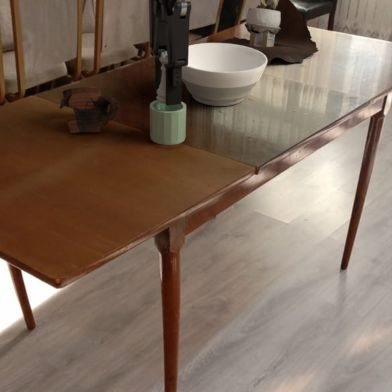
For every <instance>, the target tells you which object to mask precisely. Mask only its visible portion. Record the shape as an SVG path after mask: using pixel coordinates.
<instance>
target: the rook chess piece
mask: <svg viewBox="0 0 392 392" xmlns="http://www.w3.org/2000/svg"><path fill="white" fill-rule="evenodd" d="M159 60H160V61H161V63H162V67H161V70H162V77H161V83H160V85H159V88H158V89H157V94H158V96H157V95H156V100H158V101H159V102H160V103H163V104H166V68H165V67H164V64H168V55H167V51H165V52H162V53H161V57H160V59H159Z"/></svg>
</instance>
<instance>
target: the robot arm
mask: <svg viewBox="0 0 392 392" xmlns="http://www.w3.org/2000/svg"><path fill="white" fill-rule="evenodd" d="M191 12H192V2H191V1H190V0H189V1H185V0H148V26H149V27H148V28H149V29H148V31H149V32H148V33H149V35H148V36H149V48H150V49H152V53H153V55H154V94H155V96H156V97H157V96H158V94H157V89H158V88H159V85H160V83H161V77H162V70H161V67H162V63H161V61H160V60H159V59H160V57H161V53H162V52H165V51H167V55H168V64H164V67H165V68H166V105H167V106H169V105H177V104H181V102H182V91H183V90H182V88H183V87H182V86H183V84H182V83H183V81H182V67H183V66H188V53H189V45H190V18H191Z"/></svg>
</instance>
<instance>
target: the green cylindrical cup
mask: <svg viewBox="0 0 392 392" xmlns="http://www.w3.org/2000/svg"><path fill="white" fill-rule="evenodd" d="M186 129H187V104H186V103H185V102H183V101H181V104H177V105H169V106H167V105H166V104H163V103H160V102H159V101H158V100H157V99H156V100H154V101H152V102H150V103H149V138H150V140H151V142H152V141H153V143H156V144H159V145H163V146H173V145H179V144H181V143H183V142H185V140H186V136H187V135H186V134H187V133H186V132H187V130H186Z"/></svg>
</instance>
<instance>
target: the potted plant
mask: <svg viewBox="0 0 392 392" xmlns="http://www.w3.org/2000/svg"><path fill="white" fill-rule="evenodd" d="M259 1H260V4H258V5H256V7H249V8H248V10H247V12H246V17H245V23H244V27H245V29H246V30H247V32H248V34H249V39H247V38H245V37H244V38H242V37H241V38H239V37H237V36H233V37H232V38H227V39H224V40H222V41H221V43H227V44H235V45H241V46H246V47H249V48H252V49H255V50H258V51H260V52H261V53H263V54H264V55H265V56H266V57H267V64H266V66H268V67H269V65H270V63H271V61H272V60H273V59H275V58H279V59H282V60H283V61H285V62H286V63H301V64H303V63H304V59H306V58H307V57H310V56H314V54H315V53H317V52H319V51H320V50H319V48H318V47H317V43H316V41H314V40H312V39H313V37H312V35H311V31H310V30H309V27H308V24H307V23H306V21H305V19H304V17H303V15H302V14H301V13H300V12H299V10H298V7H297V6H296V5H295V4H294V3H293V2H292V1H291V0H259Z"/></svg>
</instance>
